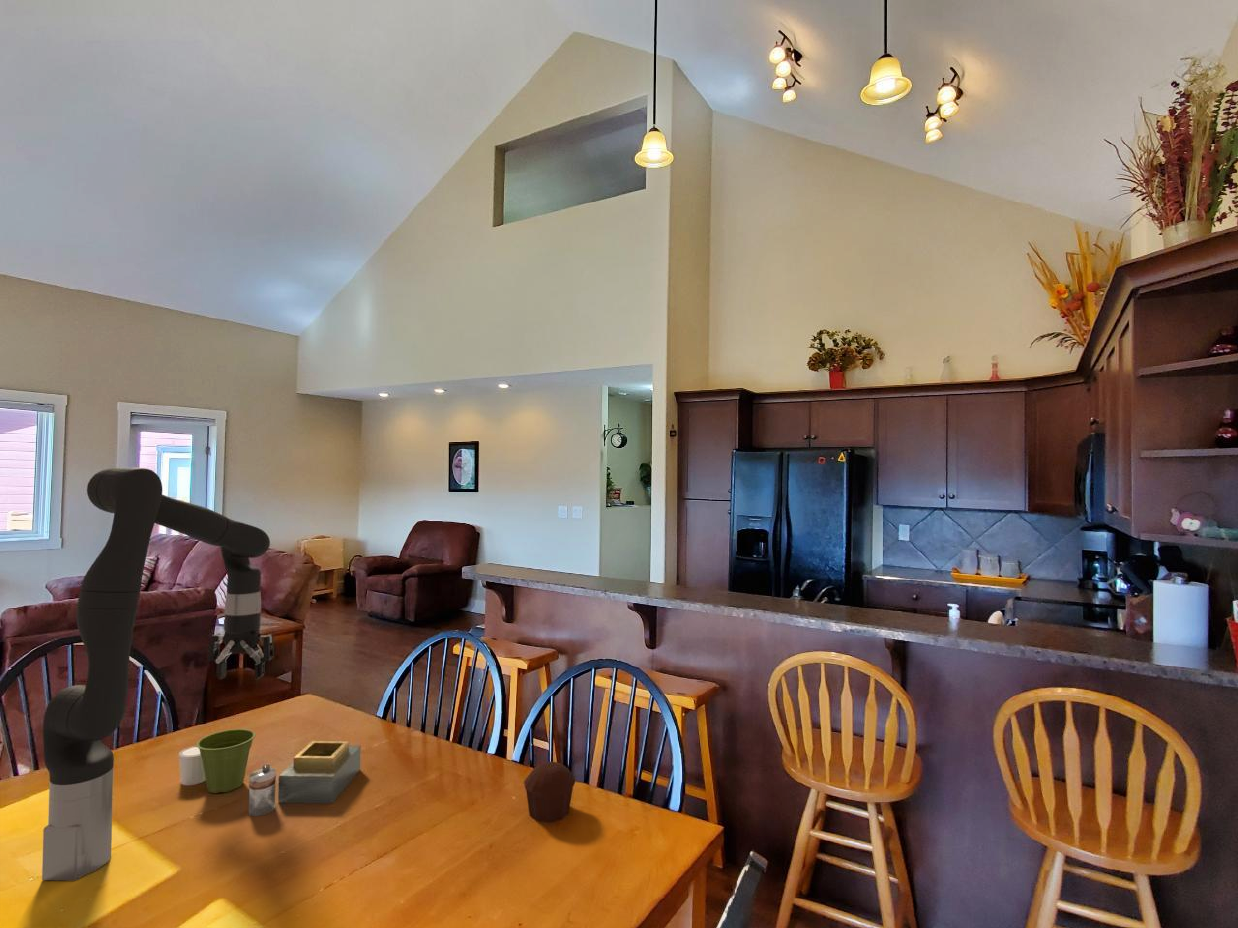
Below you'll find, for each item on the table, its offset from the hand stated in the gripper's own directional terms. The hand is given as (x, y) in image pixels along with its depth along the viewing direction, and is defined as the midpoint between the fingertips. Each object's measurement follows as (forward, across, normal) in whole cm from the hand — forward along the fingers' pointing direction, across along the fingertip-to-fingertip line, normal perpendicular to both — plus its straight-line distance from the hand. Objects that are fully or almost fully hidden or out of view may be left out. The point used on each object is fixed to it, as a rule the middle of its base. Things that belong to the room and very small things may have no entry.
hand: (240, 678), depth 152 cm
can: (+24, +13, -13) cm, 31 cm away
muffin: (+24, +76, -14) cm, 81 cm away
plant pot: (+25, -1, -3) cm, 25 cm away
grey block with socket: (+24, +21, -2) cm, 32 cm away
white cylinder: (+24, -10, 0) cm, 26 cm away
